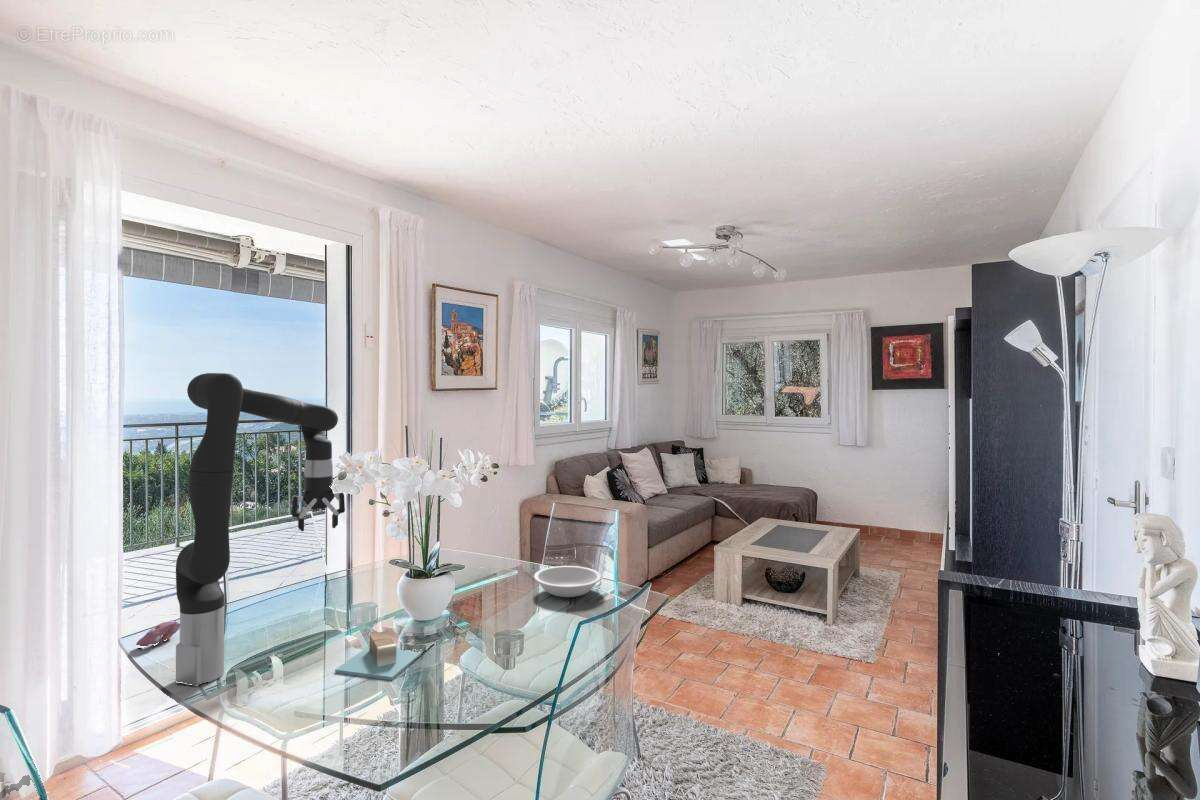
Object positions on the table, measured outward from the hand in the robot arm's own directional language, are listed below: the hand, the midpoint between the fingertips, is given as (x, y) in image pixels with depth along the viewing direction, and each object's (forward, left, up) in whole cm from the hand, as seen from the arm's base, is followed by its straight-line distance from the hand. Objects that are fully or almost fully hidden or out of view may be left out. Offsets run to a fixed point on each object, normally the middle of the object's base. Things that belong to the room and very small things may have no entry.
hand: (318, 529), depth 178 cm
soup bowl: (+50, -63, -30) cm, 86 cm away
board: (-11, -30, -30) cm, 44 cm away
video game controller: (-19, +36, -30) cm, 51 cm away
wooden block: (-9, -25, -27) cm, 38 cm away
